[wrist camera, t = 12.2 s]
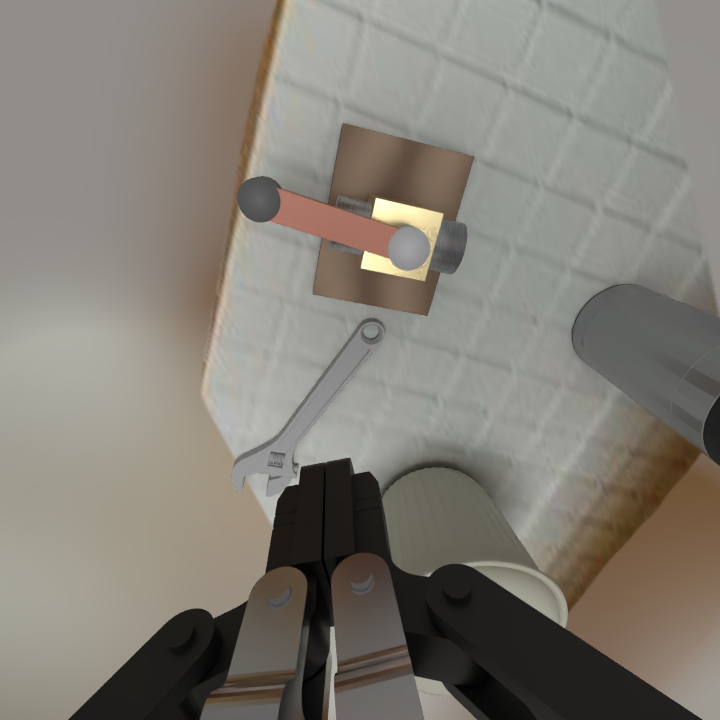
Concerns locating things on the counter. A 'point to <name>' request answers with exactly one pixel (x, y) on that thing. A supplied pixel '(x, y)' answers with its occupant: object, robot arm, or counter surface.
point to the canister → (462, 541)
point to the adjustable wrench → (306, 415)
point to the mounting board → (396, 181)
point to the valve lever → (333, 223)
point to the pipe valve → (440, 232)
